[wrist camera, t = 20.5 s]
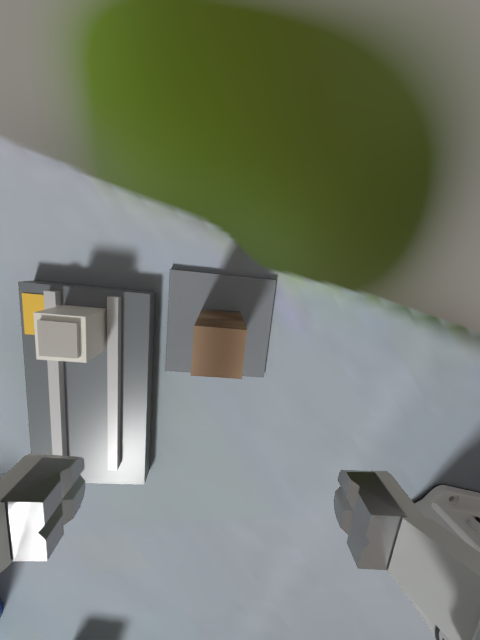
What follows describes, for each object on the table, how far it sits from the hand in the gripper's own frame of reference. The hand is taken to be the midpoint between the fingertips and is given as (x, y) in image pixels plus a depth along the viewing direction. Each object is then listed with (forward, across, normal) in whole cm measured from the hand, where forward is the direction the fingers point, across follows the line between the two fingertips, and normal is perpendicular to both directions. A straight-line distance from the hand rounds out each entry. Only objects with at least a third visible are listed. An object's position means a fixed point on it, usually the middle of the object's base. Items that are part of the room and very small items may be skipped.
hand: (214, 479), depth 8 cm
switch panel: (+20, +14, +8) cm, 25 cm away
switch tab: (+18, +13, 0) cm, 22 cm away
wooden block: (+20, 0, 0) cm, 20 cm away
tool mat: (+20, 0, 0) cm, 20 cm away
